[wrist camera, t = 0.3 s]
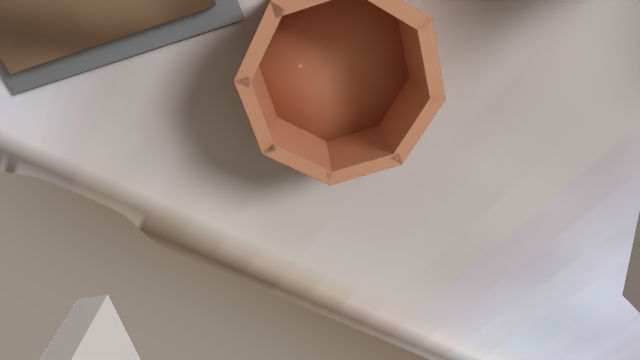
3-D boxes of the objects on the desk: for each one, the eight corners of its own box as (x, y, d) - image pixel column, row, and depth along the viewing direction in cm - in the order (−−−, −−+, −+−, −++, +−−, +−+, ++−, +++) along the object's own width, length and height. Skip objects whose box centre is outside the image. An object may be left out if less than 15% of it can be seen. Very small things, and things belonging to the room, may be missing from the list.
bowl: (226, 9, 33) (210, 20, 26) (395, -47, 32) (420, -49, 25) (282, 160, 38) (280, 199, 32) (427, 117, 37) (454, 149, 31)
